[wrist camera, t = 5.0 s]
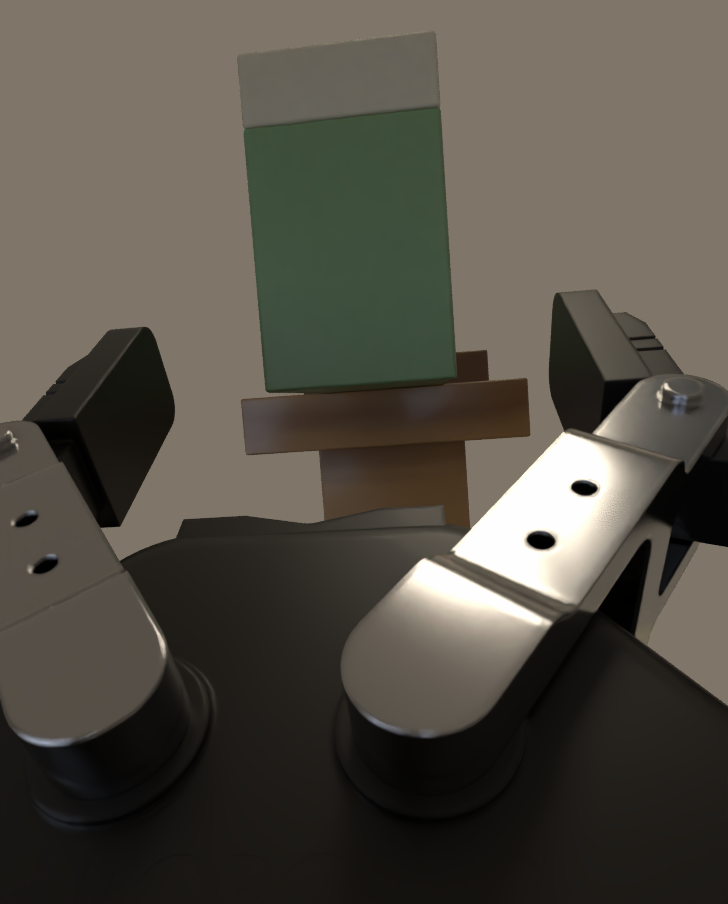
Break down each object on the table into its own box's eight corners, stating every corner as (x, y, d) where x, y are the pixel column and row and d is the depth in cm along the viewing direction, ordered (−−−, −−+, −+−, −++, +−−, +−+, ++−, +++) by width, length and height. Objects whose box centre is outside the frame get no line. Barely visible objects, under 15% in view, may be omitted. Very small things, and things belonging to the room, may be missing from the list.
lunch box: (457, 378, 15) (436, 28, 14) (264, 392, 15) (235, 53, 15) (436, 387, 35) (427, 241, 34) (353, 393, 35) (342, 249, 34)
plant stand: (573, 1225, 25) (524, 324, 22) (312, 1214, 26) (235, 347, 23) (518, 928, 39) (484, 351, 36) (350, 928, 40) (305, 365, 37)
